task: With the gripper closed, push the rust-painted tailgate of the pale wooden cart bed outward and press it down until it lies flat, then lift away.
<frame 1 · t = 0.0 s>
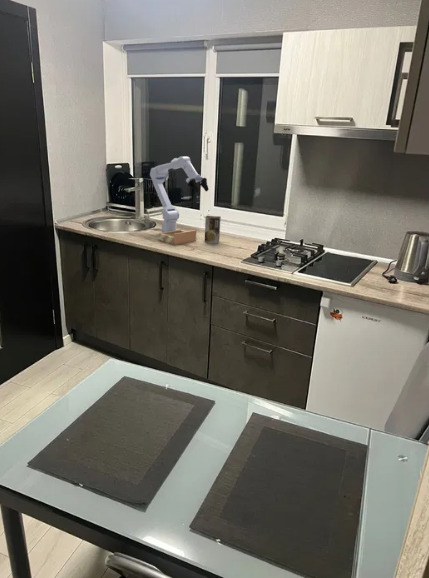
hand: (203, 190, 252), 32 cm above the table, tool tilted 50°, fingers open, 7 cm apart
tailgate: (185, 237, 261), point 4 cm above the table, hinge at 0.0°
coffee box: (211, 242, 269), on the table
cart bed: (176, 240, 267), on the table
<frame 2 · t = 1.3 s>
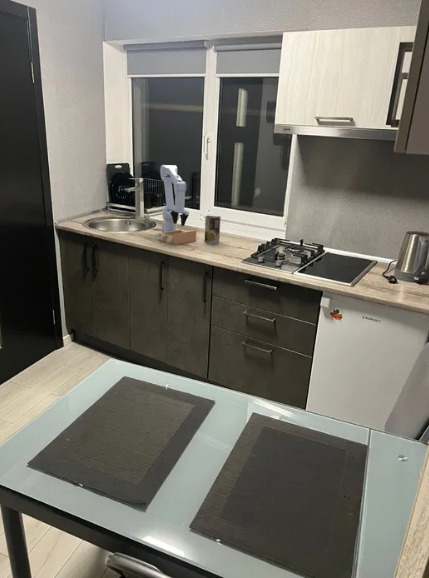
hand: (179, 224, 263), 10 cm above the table, tool pointing down, fingers open, 6 cm apart
nothing on the table moved.
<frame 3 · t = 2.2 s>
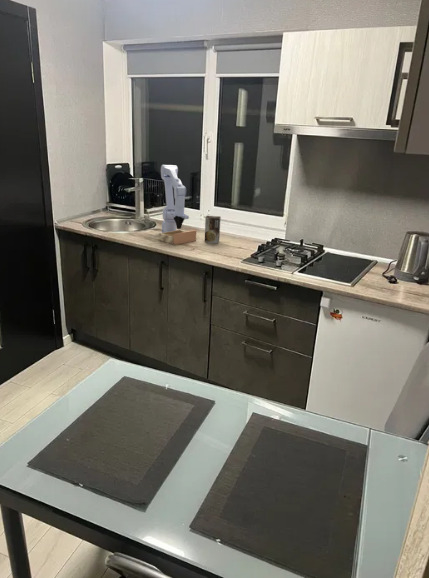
hand: (178, 228, 263), 8 cm above the table, tool pointing down, fingers closed
nothing on the table moved.
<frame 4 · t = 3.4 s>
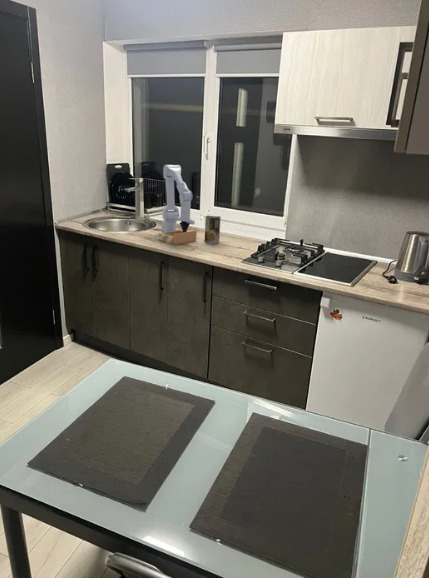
hand: (184, 233, 261), 6 cm above the table, tool pointing down, fingers closed, pressing on tailgate
tailgate: (185, 237, 261), point 4 cm above the table, hinge at 2.3°, touching gripper
everything else where it was.
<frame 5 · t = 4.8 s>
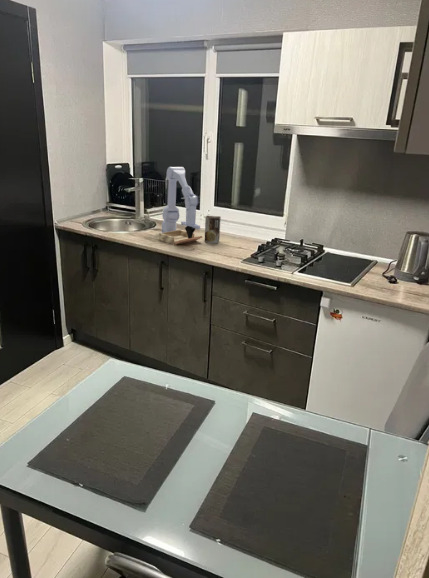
hand: (189, 238, 259), 4 cm above the table, tool pointing down, fingers closed, pressing on tailgate
tailgate: (188, 240, 260), point 3 cm above the table, hinge at 60.6°, touching gripper
everything else where it was.
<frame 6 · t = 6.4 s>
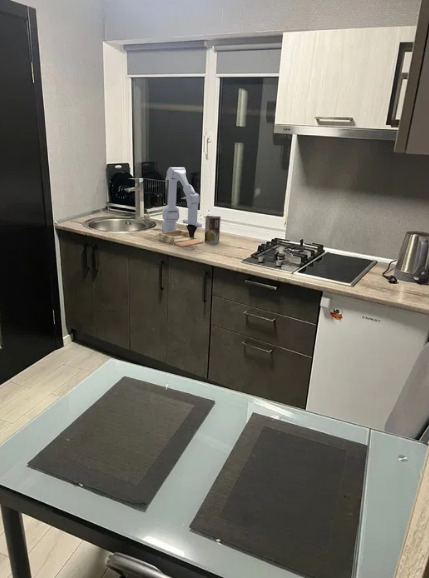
hand: (191, 237, 257), 5 cm above the table, tool pointing down, fingers closed
tailgate: (189, 243, 260), point 1 cm above the table, hinge at 92.4°
everything else where it was.
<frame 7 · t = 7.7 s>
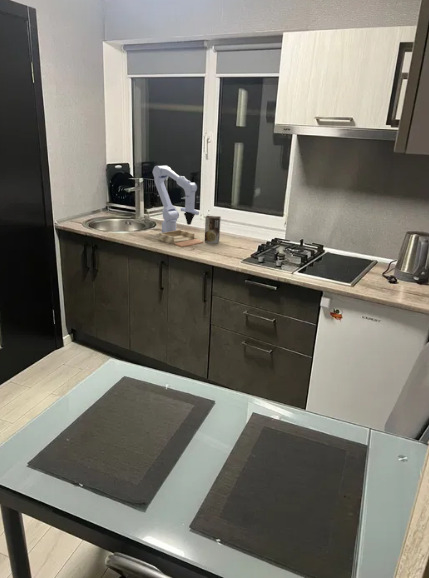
hand: (189, 224, 270), 9 cm above the table, tool pointing down, fingers closed
nothing on the table moved.
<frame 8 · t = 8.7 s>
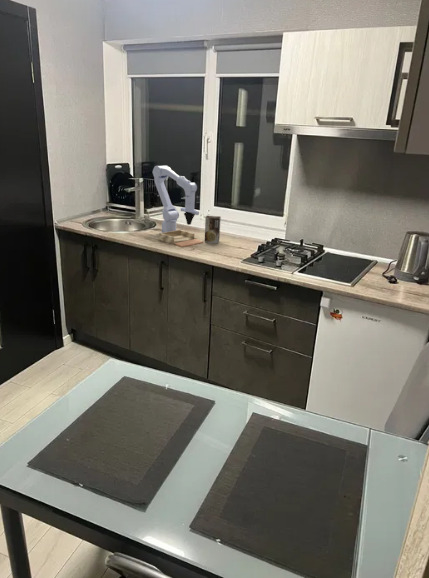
hand: (189, 224, 270), 9 cm above the table, tool pointing down, fingers closed
nothing on the table moved.
at the end: tailgate at +93° (first picture: +0°); coffee box moved 0.2 cm from its start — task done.
